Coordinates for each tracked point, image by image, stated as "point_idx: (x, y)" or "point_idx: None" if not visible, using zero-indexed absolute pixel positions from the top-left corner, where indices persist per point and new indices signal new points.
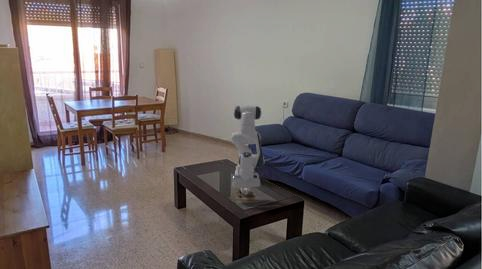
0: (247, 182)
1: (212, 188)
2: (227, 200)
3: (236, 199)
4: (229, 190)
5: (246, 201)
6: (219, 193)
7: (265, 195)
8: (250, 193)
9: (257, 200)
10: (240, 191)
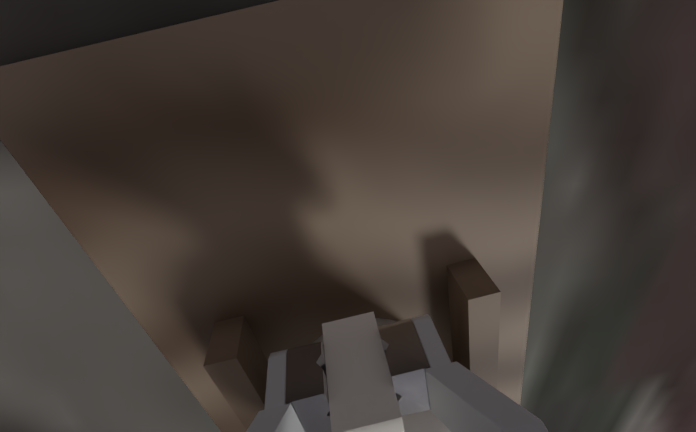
0: None
1: (680, 423)
2: (658, 167)
3: (536, 167)
4: None
5: (328, 74)
6: (666, 349)
7: (34, 396)
8: None
9: (54, 156)
10: None
